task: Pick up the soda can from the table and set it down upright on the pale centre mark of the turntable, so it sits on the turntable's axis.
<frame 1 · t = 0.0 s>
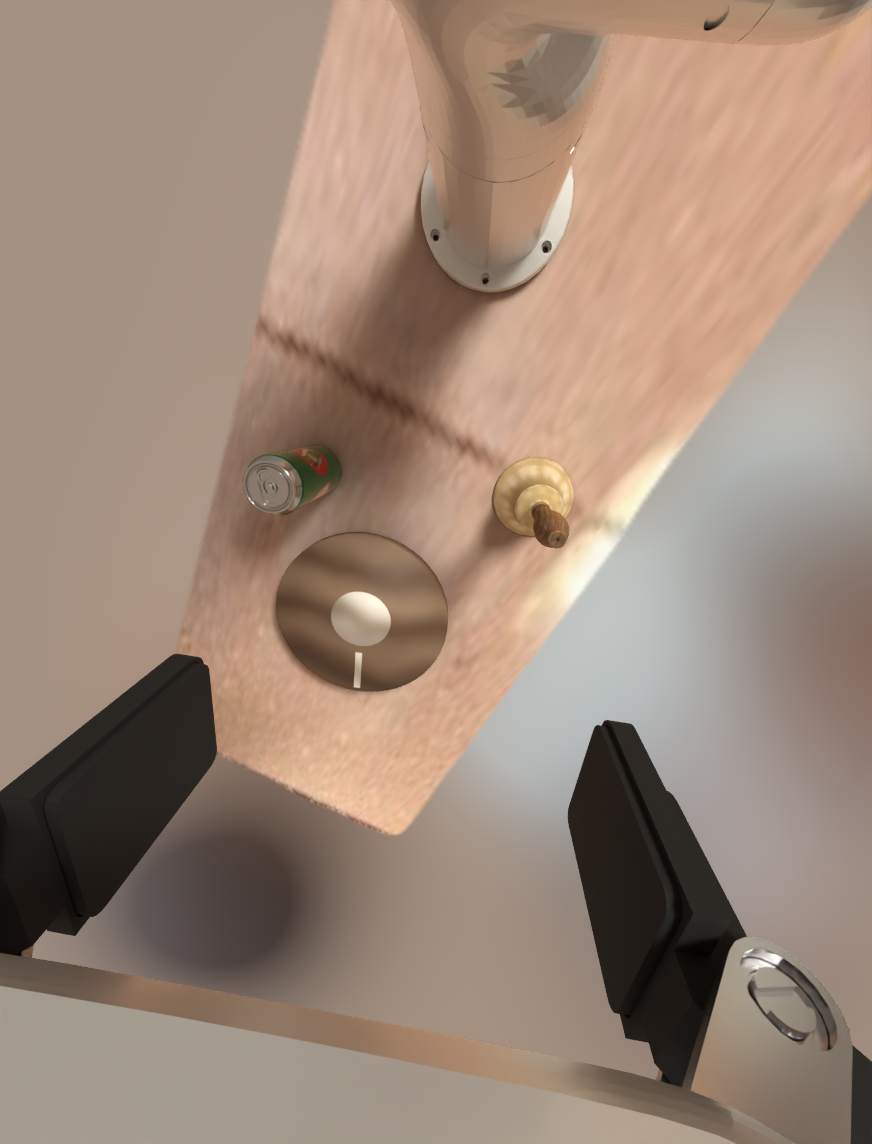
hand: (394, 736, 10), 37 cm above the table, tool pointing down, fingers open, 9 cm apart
soda can: (320, 469, 45), on the table
turntable: (362, 616, 49), point 2 cm above the table, hinge at 0.0°
hand bell: (532, 497, 44), on the table
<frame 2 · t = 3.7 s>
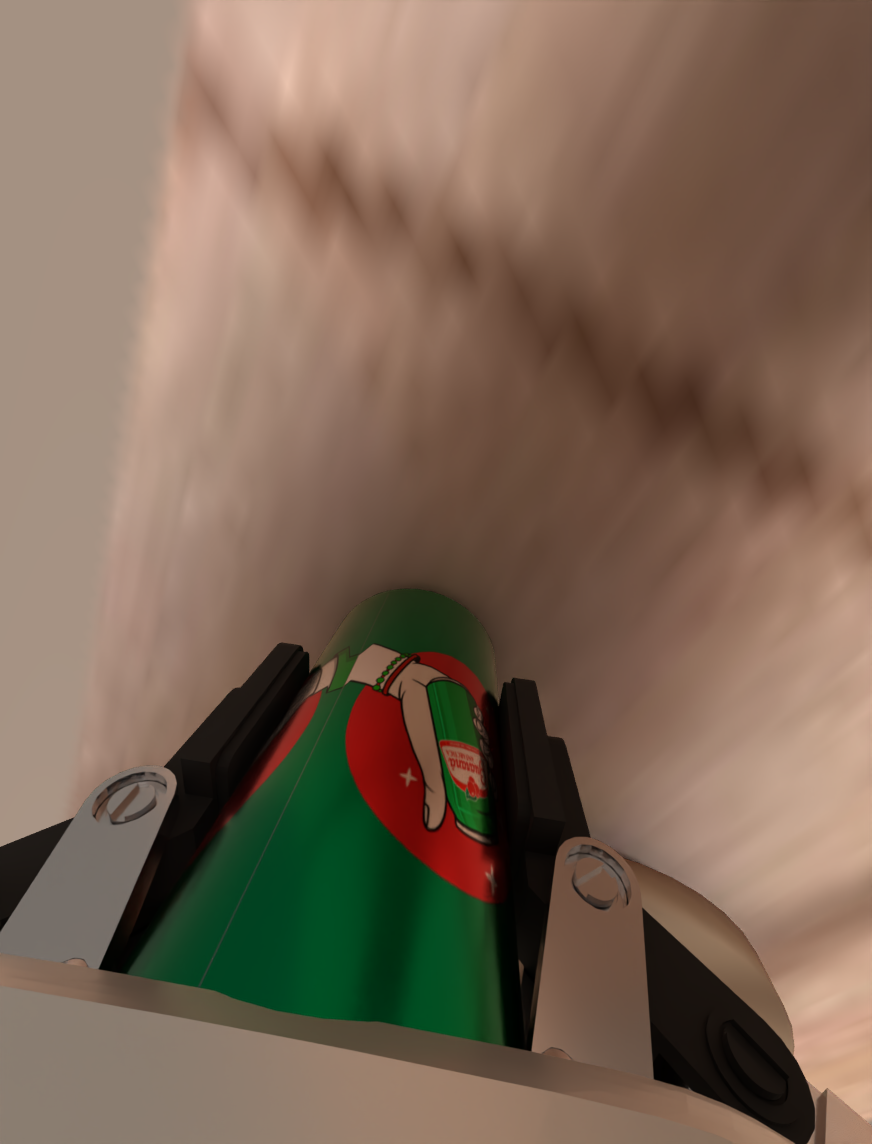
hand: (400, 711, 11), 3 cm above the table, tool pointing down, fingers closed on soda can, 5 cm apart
soda can: (416, 649, 14), on the table, touching gripper
turntable: (514, 1027, 17), point 2 cm above the table, hinge at 0.0°
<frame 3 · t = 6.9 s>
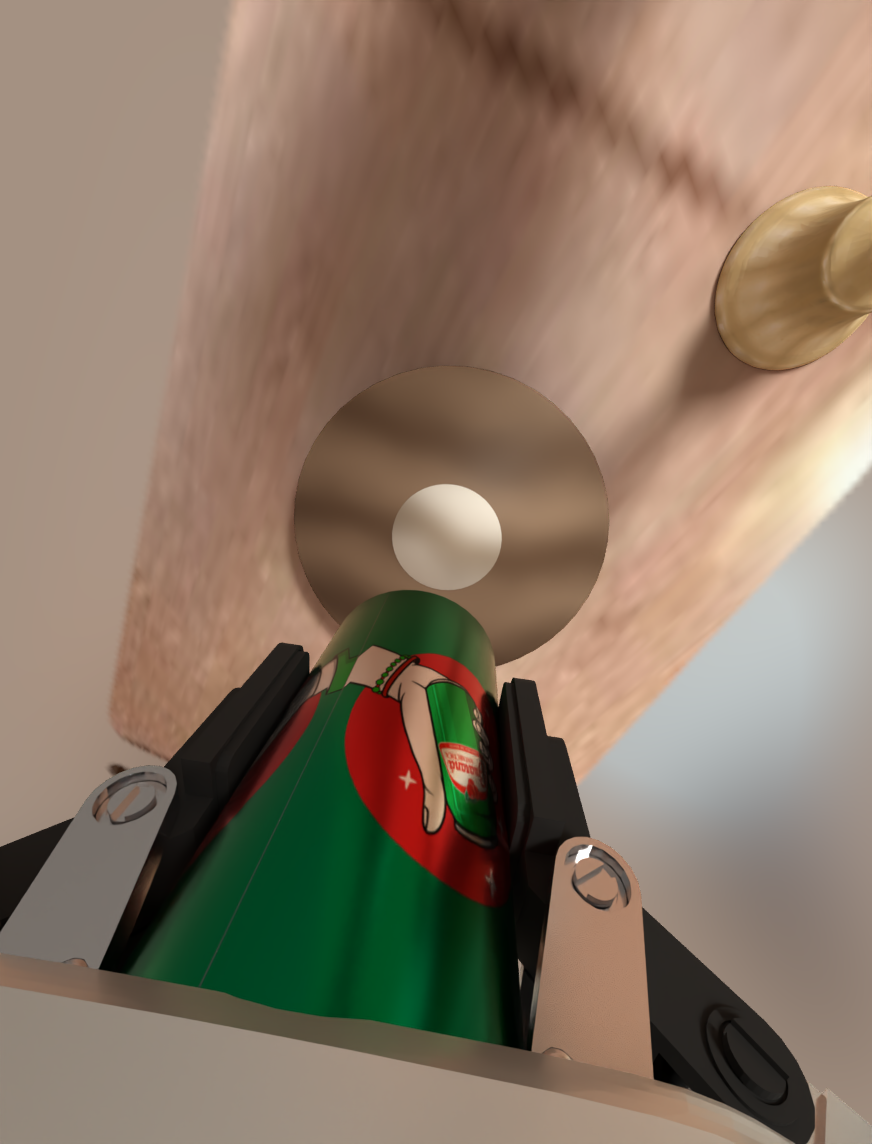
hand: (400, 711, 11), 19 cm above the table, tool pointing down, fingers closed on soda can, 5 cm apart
soda can: (416, 650, 14), point 16 cm above the table, touching gripper
turntable: (447, 536, 27), point 2 cm above the table, hinge at 0.0°
hand bell: (793, 286, 23), on the table
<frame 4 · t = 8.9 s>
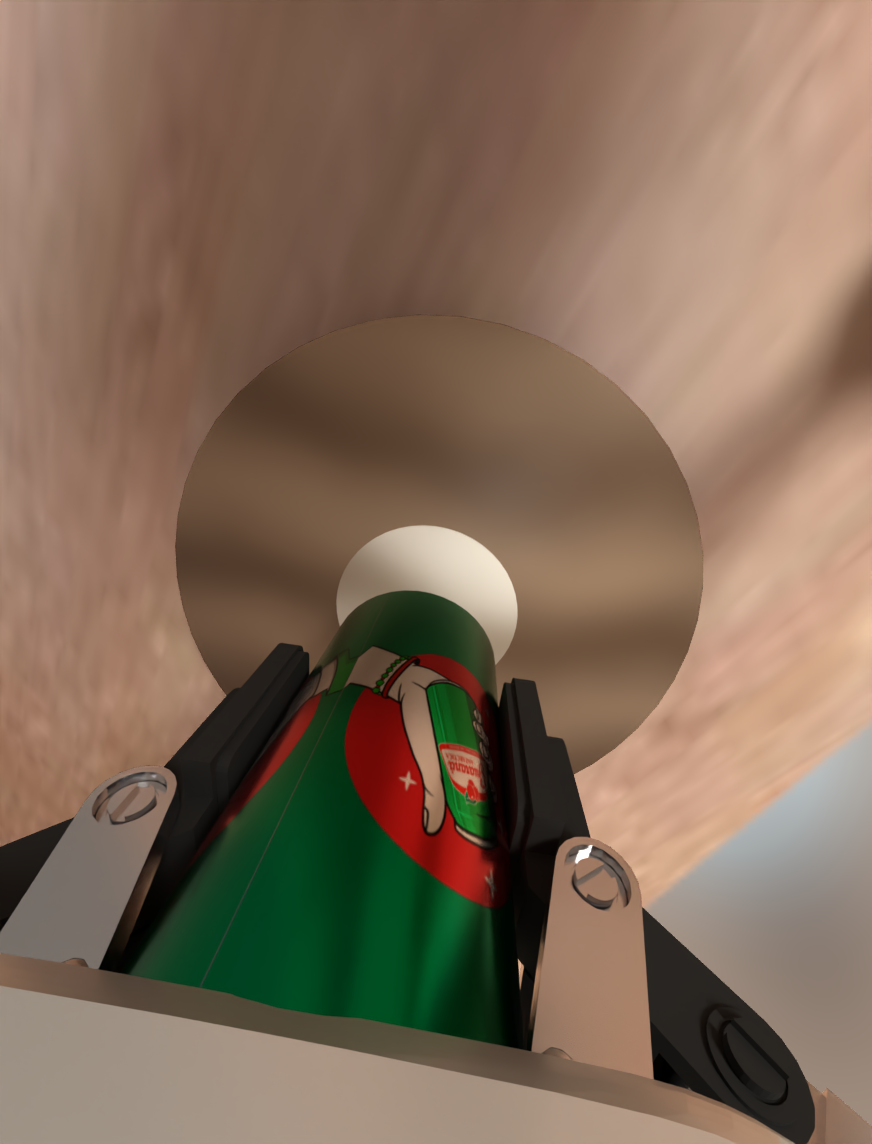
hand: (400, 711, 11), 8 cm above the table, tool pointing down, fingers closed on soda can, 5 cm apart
soda can: (416, 651, 14), point 5 cm above the table, touching gripper
turntable: (427, 605, 17), point 2 cm above the table, hinge at 0.0°
when the fingers open (7 cm above the table, at t = 10.1 s): soda can drops 1 cm, resting on turntable.
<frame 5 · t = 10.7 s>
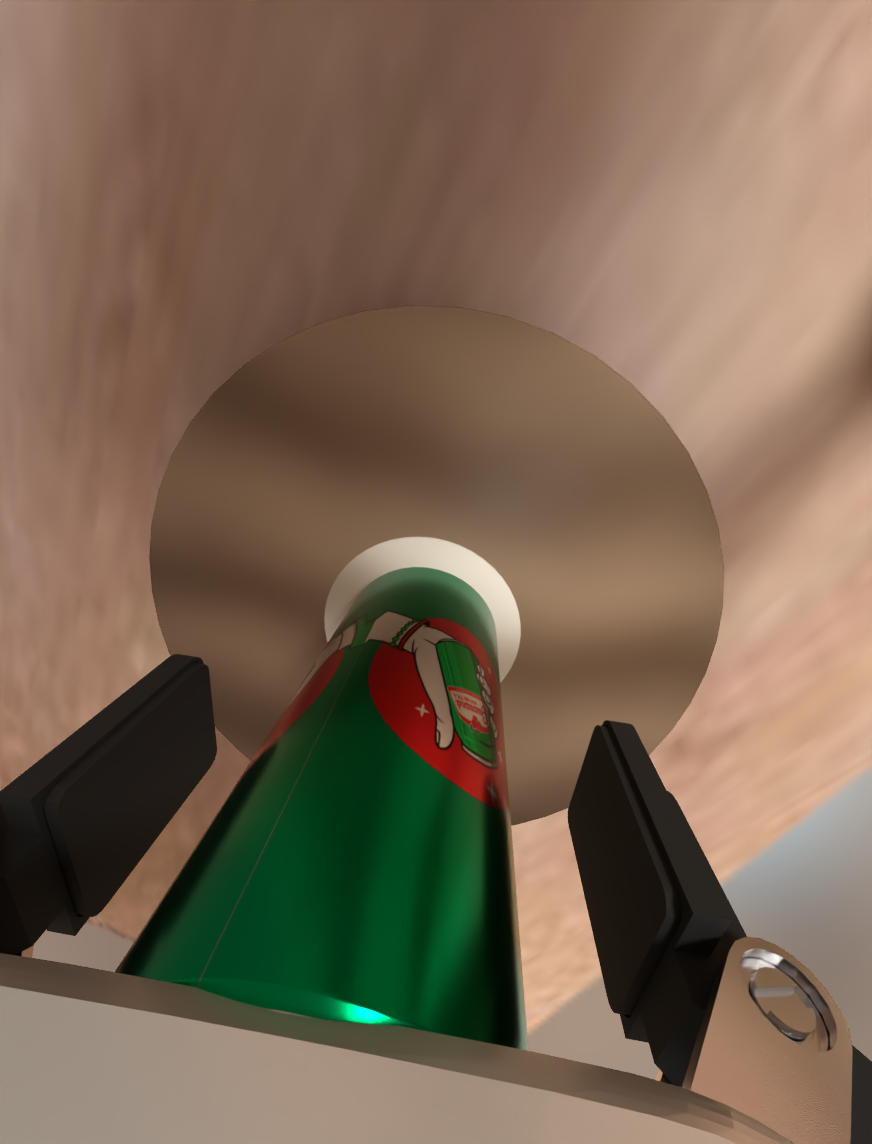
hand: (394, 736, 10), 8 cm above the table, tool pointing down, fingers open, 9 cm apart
soda can: (424, 625, 15), point 3 cm above the table, touching turntable
turntable: (423, 621, 15), point 2 cm above the table, hinge at 0.0°, touching soda can
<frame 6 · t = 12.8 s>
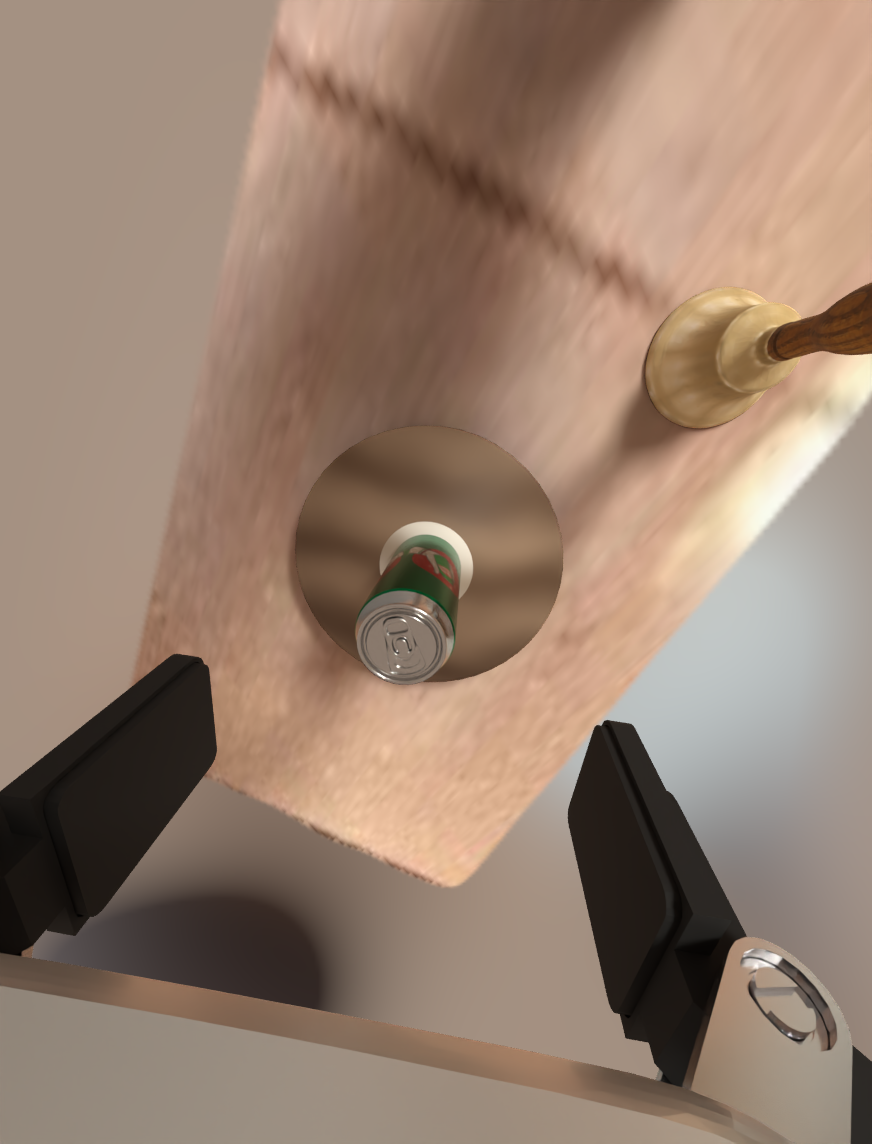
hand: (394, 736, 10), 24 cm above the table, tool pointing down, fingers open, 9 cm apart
soda can: (427, 564, 31), point 3 cm above the table, touching turntable
turntable: (426, 564, 32), point 2 cm above the table, hinge at 0.0°, touching soda can
hand bell: (708, 362, 28), on the table
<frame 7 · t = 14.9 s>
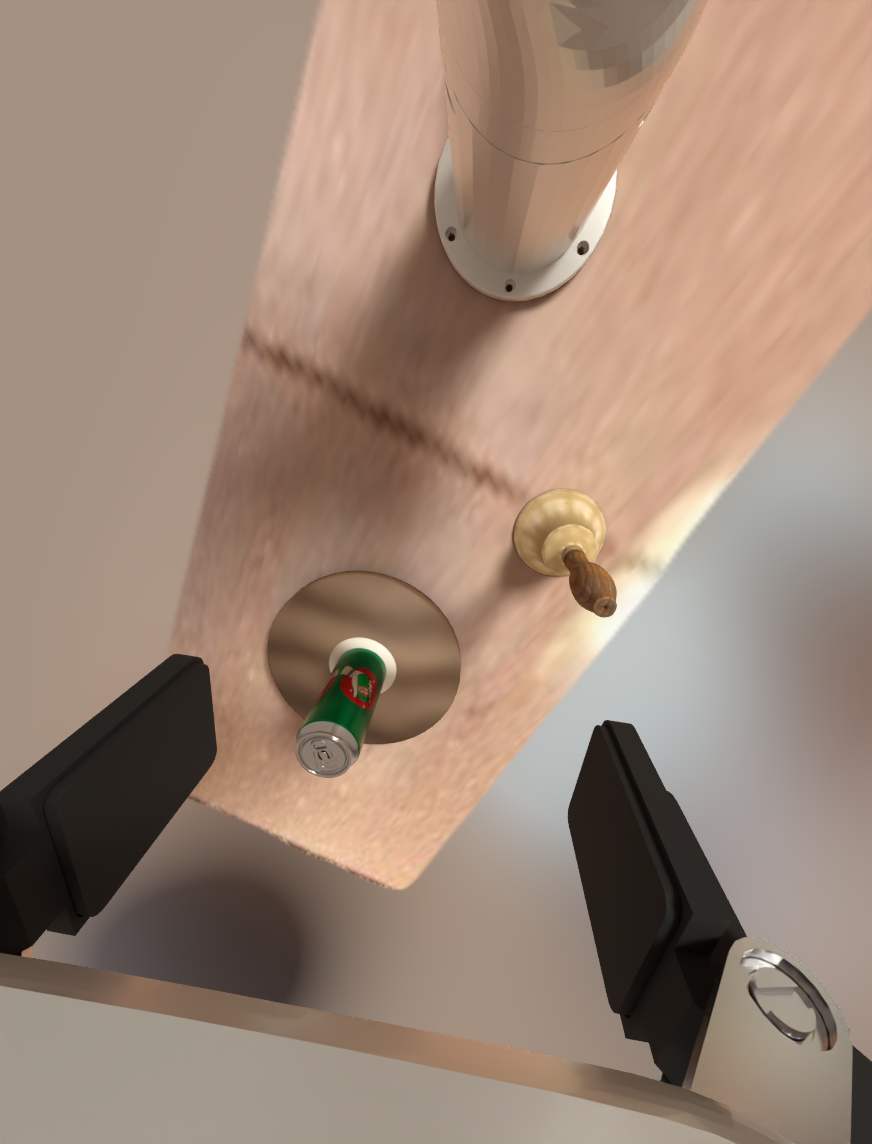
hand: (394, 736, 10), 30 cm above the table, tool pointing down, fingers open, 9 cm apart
soda can: (363, 665, 43), point 3 cm above the table, touching turntable
turntable: (364, 663, 43), point 2 cm above the table, hinge at 0.0°, touching soda can
hand bell: (558, 532, 39), on the table
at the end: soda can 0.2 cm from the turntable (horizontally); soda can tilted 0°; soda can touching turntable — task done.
